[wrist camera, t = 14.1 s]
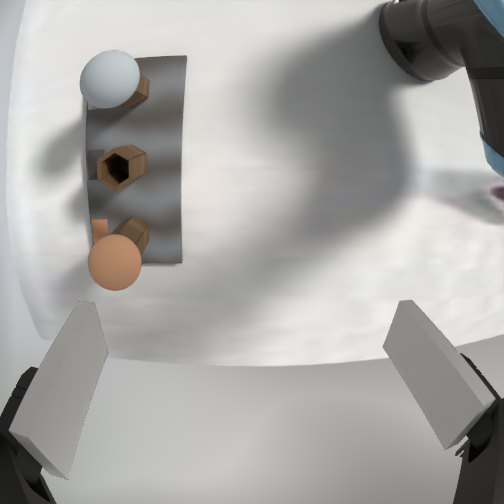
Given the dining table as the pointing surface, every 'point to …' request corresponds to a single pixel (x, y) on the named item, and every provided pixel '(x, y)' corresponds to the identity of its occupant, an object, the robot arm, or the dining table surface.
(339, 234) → the dining table surface
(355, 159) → the dining table surface
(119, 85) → the ball grey
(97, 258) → the ball terracotta
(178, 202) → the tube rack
